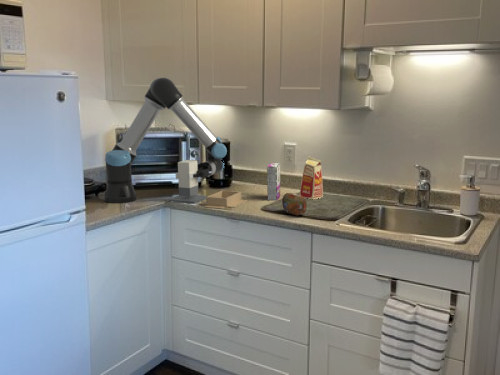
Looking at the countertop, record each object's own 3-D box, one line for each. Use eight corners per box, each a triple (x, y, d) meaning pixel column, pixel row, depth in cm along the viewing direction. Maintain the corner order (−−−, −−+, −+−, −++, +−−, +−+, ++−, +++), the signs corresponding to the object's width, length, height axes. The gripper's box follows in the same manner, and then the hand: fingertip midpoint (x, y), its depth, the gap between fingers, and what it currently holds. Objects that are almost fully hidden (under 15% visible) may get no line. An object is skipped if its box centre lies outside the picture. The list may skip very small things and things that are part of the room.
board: (168, 201, 244) (168, 199, 244) (183, 195, 257) (183, 193, 257) (194, 203, 239) (194, 201, 239) (208, 197, 252) (208, 195, 251)
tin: (281, 210, 225) (281, 191, 223) (287, 209, 226) (287, 190, 225) (301, 217, 212) (301, 197, 210) (307, 216, 214) (308, 196, 212)
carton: (196, 206, 234) (195, 197, 233) (218, 196, 254) (218, 188, 254) (230, 209, 227) (230, 200, 226) (250, 199, 248) (250, 191, 247)
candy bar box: (270, 195, 256) (270, 162, 253) (280, 195, 255) (280, 163, 252) (266, 200, 245) (266, 166, 242) (277, 200, 244) (277, 166, 241)
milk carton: (299, 197, 250) (299, 157, 246) (309, 194, 257) (310, 155, 253) (314, 200, 244) (315, 158, 241) (325, 197, 251) (326, 156, 248)
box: (179, 195, 245) (177, 162, 242) (187, 192, 252) (186, 160, 249) (190, 196, 243) (188, 162, 240) (198, 193, 250) (197, 160, 247)
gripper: (222, 177, 259) (200, 185, 238) (189, 175, 266) (165, 183, 245) (222, 162, 258) (200, 169, 237) (189, 161, 265) (164, 167, 244)
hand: (182, 176), depth 241 cm, fingers closed on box, 6 cm apart
